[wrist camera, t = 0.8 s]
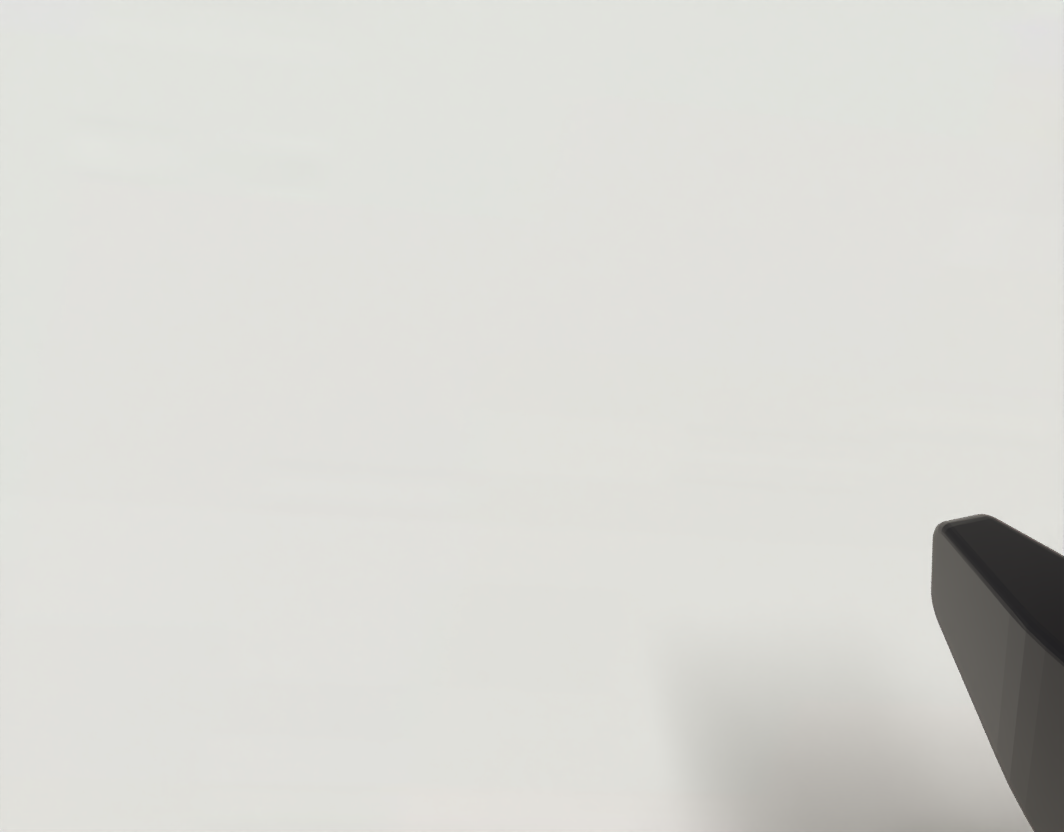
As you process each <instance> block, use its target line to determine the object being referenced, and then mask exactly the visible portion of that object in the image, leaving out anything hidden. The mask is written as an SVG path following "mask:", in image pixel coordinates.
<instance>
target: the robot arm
mask: <svg viewBox="0 0 1064 832" xmlns="http://www.w3.org/2000/svg"><path fill="white" fill-rule="evenodd" d="M931 596H932V603H933V608H934V611H935V615H936V618H937V620H938V623H939V625H940V628H941V630H942V632H943V635H944V637H945V639H946V642H947V644H948V646H949V649H950V651H951V653H952V656H953V658H954V660H955V663H956V665H957V667H958V670H959V672H960V674H961V677H962V679H963V681H964V684H965V686H966V688H967V691H968V693H969V695H970V698H971V700H972V702H973V705H974V707H975V709H976V712H977V714H978V716H979V719H980V721H981V723H982V726H983V728H984V730H985V733H986V735H987V737H988V740H989V742H990V744H991V747H992V749H993V751H994V754H995V756H996V758H997V760H998V763H999V765H1000V767H1001V769H1002V772H1003V774H1004V776H1005V778H1006V780H1007V783H1008V785H1009V787H1010V789H1011V791H1012V792H1013V794H1014V796H1015V798H1016V800H1017V802H1018V804H1019V806H1020V807H1021V809H1022V811H1023V813H1024V815H1025V817H1026V818H1027V820H1028V822H1029V824H1030V825H1031V827H1032V829H1033V831H1034V832H1064V556H1063V555H1061V554H1059V553H1058V552H1056V551H1054V550H1052V549H1050V548H1049V547H1047V546H1045V545H1043V544H1041V543H1040V542H1038V541H1036V540H1034V539H1032V538H1031V537H1029V536H1027V535H1025V534H1023V533H1022V532H1020V531H1018V530H1016V529H1015V528H1013V527H1011V526H1009V525H1007V524H1006V523H1004V522H1002V521H1000V520H998V519H997V518H994V517H992V516H989V515H985V514H978V515H973V516H968V517H963V518H959V519H954V520H949V521H944V522H942V523H940V524H938V525H937V527H936V528H935V531H934V534H933V548H932V582H931Z"/></svg>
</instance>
